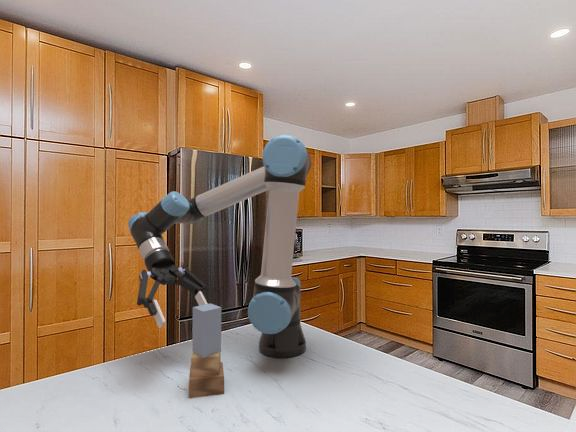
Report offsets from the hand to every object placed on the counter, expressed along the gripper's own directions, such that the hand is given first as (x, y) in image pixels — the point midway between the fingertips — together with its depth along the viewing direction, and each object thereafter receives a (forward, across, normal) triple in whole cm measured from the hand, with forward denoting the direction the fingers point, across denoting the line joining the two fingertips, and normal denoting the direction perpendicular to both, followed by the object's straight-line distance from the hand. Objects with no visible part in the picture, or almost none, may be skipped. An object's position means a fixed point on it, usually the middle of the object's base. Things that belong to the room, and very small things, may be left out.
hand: (186, 318), depth 88 cm
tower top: (+14, 0, -2) cm, 14 cm away
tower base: (+17, 0, -5) cm, 18 cm away
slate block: (+11, 0, +1) cm, 11 cm away
